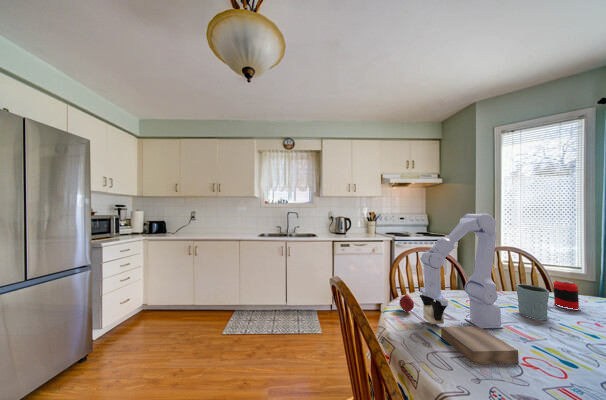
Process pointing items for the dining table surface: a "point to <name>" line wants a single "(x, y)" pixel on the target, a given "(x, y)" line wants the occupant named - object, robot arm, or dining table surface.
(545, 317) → the green plant pot
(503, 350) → the walnut block
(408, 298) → the pomegranate
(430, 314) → the beech cube
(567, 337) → the dining table surface
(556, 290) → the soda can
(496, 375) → the dining table surface
